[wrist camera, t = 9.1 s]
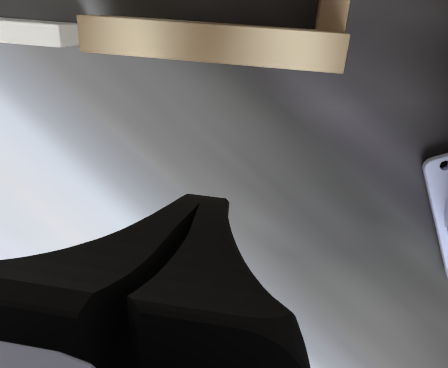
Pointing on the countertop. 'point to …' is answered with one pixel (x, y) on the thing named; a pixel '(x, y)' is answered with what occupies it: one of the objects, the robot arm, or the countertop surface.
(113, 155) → the countertop surface
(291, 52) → the bay
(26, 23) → the dock
